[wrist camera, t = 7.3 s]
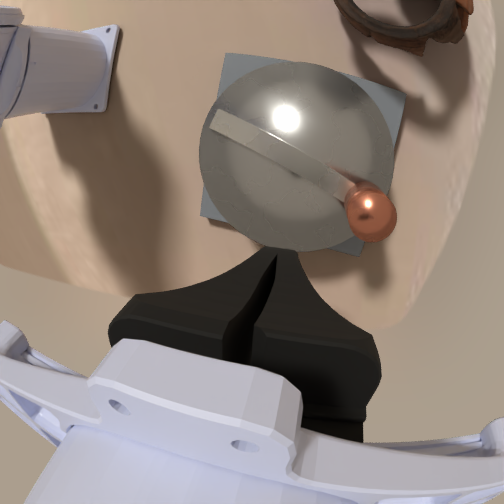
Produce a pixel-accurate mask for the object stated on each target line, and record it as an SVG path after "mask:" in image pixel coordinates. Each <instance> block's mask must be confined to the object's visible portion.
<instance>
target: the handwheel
mask: <svg viewBox="0 0 504 504" xmlns="http://www.w3.org/2000/svg"><path fill="white" fill-rule="evenodd" d="M199 163H200V170H201V175H202V178H203V182H204V185H205V188H206V190H207V192H208V195H209V197H210V199H211V200H212V202H213V204H214V205H215V207H216V208H217V210H218V211H219V212H220V214H221V215H222V216H223V217H224V218H225V219H226V220H227V221H228V222H229V223H230V225H232V226H233V227H234V228H235V229H237V230H238V231H239V232H240V233H242V234H243V235H245V236H246V237H248V238H250V239H252V240H254V241H256V242H258V243H260V244H262V245H265V246H269V247H276V248H283V249H290V250H296V252H309V251H316V250H321V249H325V248H329V247H332V246H335V245H337V244H340V243H342V242H344V241H346V240H347V239H349V238H351V237H353V236H354V235H355V236H356V237H358V238H359V239H361V240H363V241H366V242H378V241H381V240H383V239H385V238H386V237H388V236H389V235H390V234H391V233H392V231H393V230H394V228H395V225H396V221H397V213H396V209H395V207H394V205H393V204H392V202H391V201H390V200H389V199H388V197H387V194H388V192H389V189H390V186H391V182H392V178H393V171H394V149H393V142H392V138H391V134H390V131H389V128H388V125H387V123H386V121H385V119H384V116H383V114H382V113H381V111H380V110H379V108H378V106H377V105H376V103H375V102H374V101H373V100H372V98H371V97H370V96H369V95H368V94H367V93H366V92H365V91H364V90H363V89H362V88H361V87H360V86H359V85H357V84H356V83H355V82H354V81H352V80H351V79H349V78H348V77H346V76H345V75H343V74H341V73H339V72H337V71H334V70H332V69H330V68H327V67H324V66H321V65H317V64H311V63H306V62H283V63H275V64H271V65H267V66H263V67H261V68H258V69H255V70H253V71H251V72H249V73H247V74H245V75H244V76H242V77H240V78H239V79H238V80H236V81H235V82H234V83H232V84H231V85H230V86H229V87H228V88H227V89H226V90H225V91H224V92H223V93H222V94H221V95H220V96H219V98H218V99H217V100H216V102H215V103H214V104H213V106H212V108H211V110H210V111H209V113H208V115H207V118H206V120H205V123H204V125H203V129H202V133H201V137H200V146H199Z"/></svg>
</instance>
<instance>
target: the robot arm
mask: <svg viewBox="0 0 504 504" xmlns="http://www.w3.org/2000/svg"><path fill="white" fill-rule="evenodd" d="M23 19H24V15H23V14H22V11H21V9H20V8H17V7H10V6H0V128H1V127H2V123H3V120H4V119H7V118H12V117H17V116H22V115H28V114H34V113H40V112H41V113H42V114H46V113H68V112H104V111H105V110H106V107H107V100H108V92H109V84H110V77H111V71H112V65H113V59H114V54H115V49H116V44H117V39H118V34H119V30H120V27H119V26H118V25H115V24H114V25H109V26H104V27H99V28H94V29H90V30H85V31H81V32H77V31H71V30H65V29H58V28H50V27H41V26H30V25H22V24H21V23H22V21H23ZM110 29H111V30H110ZM109 30H110V32H109ZM97 105H98V108H97V107H96V106H97ZM108 336H109V341H110V345H111V347H112V348H111V350H110V351H109V352H108V354H107V355H106V356H105V358H104V359H103V360H102V361H101V363H100V364H99V365H98V367H97V368H96V369H95V371H94V372H93V373H92V375H91V376H90V378H88V377H85V376H83V375H81V374H79V373H77V372H75V371H73V370H71V369H69V368H67V367H65V366H63V365H61V364H60V363H58V362H56V361H54V360H52V359H50V358H49V357H47V356H45V355H43V354H42V353H40V352H38V351H37V350H35V349H33V348H31V347H30V346H29V344H28V342H27V339H26V337H25V335H24V334H23V332H22V331H21V330H20V329H19V328H17V327H16V326H14V325H13V324H11V323H10V322H8V321H6V320H4V321H3V322H2V323H1V324H0V400H1V401H2V402H3V403H4V404H5V405H6V406H7V407H8V408H9V409H11V410H12V411H13V412H14V413H15V414H17V416H19V417H20V418H21V419H22V420H23V421H24V422H26V423H27V424H28V425H29V426H30V427H32V428H33V429H34V430H35V431H36V432H38V433H39V434H40V435H41V436H43V437H44V438H45V439H47V440H48V441H49V442H50V443H52V444H53V445H54V446H56V447H57V450H56V452H55V453H54V454H53V456H52V457H51V459H50V461H49V462H48V464H47V465H46V467H45V469H44V470H43V472H42V473H41V475H40V477H39V478H38V480H37V482H36V483H35V485H34V487H33V488H32V490H31V492H30V493H29V495H28V497H27V498H26V500H25V502H24V504H483V503H485V502H487V501H489V500H491V499H493V498H494V497H496V496H498V495H499V494H501V493H502V492H504V417H501V418H497V419H495V420H493V421H491V422H490V423H489V424H488V425H487V426H486V427H485V428H484V429H483V430H482V431H481V433H479V434H473V435H467V436H462V437H454V438H446V439H438V440H428V441H415V442H394V443H363V422H364V421H365V420H366V406H367V404H368V402H369V401H370V399H371V397H372V396H373V394H374V392H375V391H376V389H377V387H378V385H379V383H380V380H381V377H382V375H381V363H380V358H379V354H378V351H377V348H376V345H375V342H374V339H373V336H372V335H371V334H369V333H368V332H366V331H364V330H362V329H361V328H359V327H357V326H355V325H353V324H352V323H350V322H349V321H348V320H346V319H345V318H343V317H342V316H341V315H339V314H338V313H337V312H336V311H334V310H333V309H332V308H331V307H330V306H329V305H328V304H327V303H326V302H325V301H324V300H323V299H322V298H321V297H320V296H319V294H318V293H317V292H316V290H315V289H314V288H313V286H312V285H311V283H310V281H309V280H308V278H307V276H306V274H305V272H304V270H303V268H302V266H301V264H300V261H299V258H298V253H297V252H296V250H290V249H283V248H276V247H269V246H265V247H263V248H262V249H260V250H259V251H258V252H256V253H255V254H254V255H252V256H251V257H250V258H248V259H247V260H245V261H244V262H242V263H241V264H239V265H237V266H236V267H234V268H232V269H231V270H229V271H227V272H225V273H223V274H221V275H219V276H217V277H214V278H212V279H210V280H207V281H204V282H201V283H198V284H195V285H192V286H188V287H184V288H180V289H175V290H170V291H164V292H156V293H146V294H135V295H134V296H133V297H132V299H131V300H130V301H129V302H128V303H127V304H126V305H125V306H124V307H123V308H122V310H121V311H120V312H119V313H118V314H117V315H116V316H115V318H114V319H113V320H112V322H111V323H110V325H109V329H108Z"/></svg>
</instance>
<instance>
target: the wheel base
mask: <svg viewBox="0 0 504 504" xmlns="http://www.w3.org/2000/svg"><path fill="white" fill-rule="evenodd" d="M283 62H293V61H287V60H281V59H275V58H268V57H261V56H253V55H245V54H234V53H225V58H224V63H223V68H222V74H221V79H220V84H219V90H218V95H217V99H218V98H219V96H220V95H221V94H222V93H223V92H224V91H225V90H226V89H227V88H228V87H229V86H230V85H231V84H232V83H234V82H235V81H236V80H238V79H239V78H240V77H242V76H244V75H245V74H247V73H249V72H251V71H253V70H255V69H258V68H261V67H263V66H267V65H271V64H275V63H283ZM339 73H341V72H339ZM341 74H343V75H345V76H346V77H348V78H349V79H351V80H352V81H354V82H355V83H356V84H357V85H359V86H360V87H361V88H362V89H363V90H364V91H365V92H366V93H367V94H368V95H369V96H370V97H371V98H372V100H373V101H374V102H375V103H376V105H377V106H378V108H379V110H380V111H381V113H382V114H383V116H384V119H385V121H386V123H387V125H388V128H389V131H390V134H391V138H392V142H393V149H394V147H395V143H396V139H397V135H398V131H399V127H400V122H401V118H402V114H403V109H404V104H405V100H406V95H407V94H405V93H403V92H400V91H398V90H395V89H392V88H389V87H387V86H384V85H381V84H378V83H375V82H372V81H369V80H365V79H362V78H359V77H356V76H352V75H349V74H345V73H341ZM200 216H202V217H207V218H211V219H215V220H219V221H223V222H227V223H229V222H228V221H227V220H226V219H225V218H224V217H223V216H222V215H221V214H220V212H219V211H218V210H217V208H216V207H215V205H214V204H213V202H212V200H211V199H210V197H209V195H208V192H207V190H206V188H205V185H204V187H203V195H202V203H201V212H200ZM364 243H365V241H363V240H361V239H359V238H358V237H356V236H355V235H354V236H353V237H351V238H349V239H347V240H346V241H344V242H342V243H340V244H337V245H335V246H332V247H329V248H328V249H331V250H335V251H339V252H343V253H346V254H350V255H354V256H357V257H359V256H360V254H361V251H362V248H363V246H364Z"/></svg>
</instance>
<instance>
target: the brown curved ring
mask: <svg viewBox="0 0 504 504" xmlns="http://www.w3.org/2000/svg"><path fill="white" fill-rule="evenodd" d="M334 2H335V4H336V6H337V7H338V9H339V10H340V12H341V13H342V14H343V15H344V17H345V18H346V19H347V20H348V21H349V22H350V23H351V24H352V25H353V26H354V27H355V28H356V29H357V30H359V31H360V32H361V33H362V34H364V35H365V36H367V37H371V36H372V37H373V38H374V39H375V40H376V41H377V42H378V43H381V44H384V45H387V46H391V47H394V48H399V49H402V50H405V51H408V52H411V53H412V54H415V55H418V56H421V57H422V56H423V52H424V49H425V45H426V42H427V40H428V38H432V39H434V40H435V41H437V42H441V43H448V42H452V43H458V42H459V41H460V40H461V39H462V37H463V36H464V32H465V31H466V29H467V26H468V17H469V15H471V14H472V13H473V11H474V7H473V0H441V4H440V6H439V8H438V10H437V12H436V13H435V14H434V15H433V16H432V17H431V18H430V19H428V20H427V21H425V22H423V23H420V24H418V25H416V26H405V27H404V26H393V25H388V24H385V23H382V22H380V21H377V20H375V19H374V18H372V17H370V16H368V15H367V14H366V13H364V12H363V11H362V10H361V9H360V8H359V7H358V6H357V5H356V4H355V3H354V2H353V0H334Z"/></svg>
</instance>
